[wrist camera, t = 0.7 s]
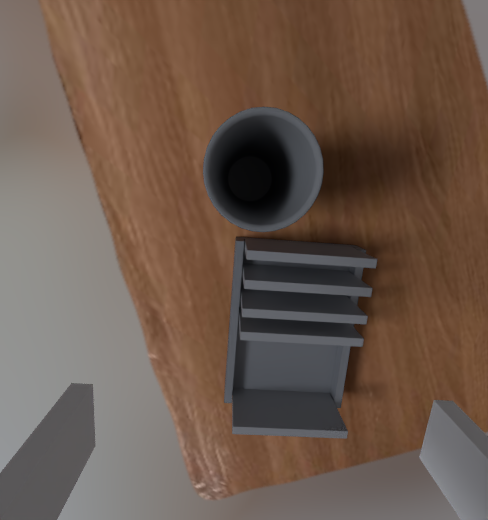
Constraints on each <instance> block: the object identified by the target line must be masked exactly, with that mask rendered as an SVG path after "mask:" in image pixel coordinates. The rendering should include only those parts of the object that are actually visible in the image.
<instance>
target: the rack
mask: <svg viewBox="0 0 488 520" xmlns="http://www.w3.org/2000/svg"><path fill="white" fill-rule="evenodd" d="M376 264H377V259H376V258H374V257H372V256H370V255H368V254H366V250H365V249H363V248H361V247H358V246H356V245H344V244H330V243H316V242H302V241H288V240H274V239H260V238H246V237H236V240H235V254H234V268H233V282H232V295H231V309H230V323H229V337H228V351H227V364H226V378H225V396H224V403H232V434H249V435H274V436H299V437H324V438H347V433H348V431H347V429H346V426H345V424H344V422H343V420H342V418H341V416H340V414H339V412H338V410H337V408H341V402H342V396H343V390H344V384H345V378H346V371H347V365H348V359H349V353H350V347H351V346H357V347H362V346H363V340H364V338H363V337H362V336H361V335H360V334H359V333H358V332H357V330H356V329H355V328H354V324H366V323H367V317H368V316H367V315H366V314H365V313H364V312H363V311H362V310H361V309H360V308H359V307H358V306H357V304H358V298H359V296H365V297H371V294H372V288H371V287H370V286H369V285H367V284H366V283H364V282H363V281H362V280H361V279H362V273H363V267H364V268H376Z"/></svg>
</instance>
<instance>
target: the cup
mask: <svg viewBox="0 0 488 520" xmlns="http://www.w3.org/2000/svg"><path fill="white" fill-rule="evenodd" d="M203 175H204V183H205V187H206V190H207V193H208V196H209V198H210V200H211V201H212V203H213V205H214V207H215V208H216V209H217V210H218V211H219V213H220V214H221V215H222V216H223V217H225V218H226V219H227V220H228V221H230V222H231V223H233V224H235V225H237V226H238V227H240V228H243V229H247V230H250V231H257V232H268V231H275V230H279V229H282V228H285V227H287V226H289V225H291V224H293V223H295V222H296V221H297V220H299V219H300V218H301V217H302V216H303V215H305V213H306V212H307V211H308V210H309V209H310V208H311V206H312V205H313V203H314V201H315V200H316V198H317V196H318V194H319V191H320V188H321V185H322V179H323V158H322V154H321V149H320V146H319V144H318V142H317V140H316V138H315V136H314V134H313V133H312V132H311V130H310V129H309V128H308V126H307V125H306V124H304V123H303V122H302V121H301V120H300V119H299V118H297V117H296V116H294V115H292V114H291V113H289V112H287V111H284V110H281V109H278V108H271V107H257V108H251V109H247V110H244V111H241V112H239V113H237V114H236V115H234V116H232V117H230V118H229V119H228V120H227V121H226V122H224V123H223V124H222V125H221V126H220V127H219V128H218V130H217V131H216V132H215V134H214V135H213V136H212V138H211V141H210V143H209V145H208V147H207V150H206V154H205V157H204V166H203Z"/></svg>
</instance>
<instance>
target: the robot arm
mask: <svg viewBox="0 0 488 520" xmlns="http://www.w3.org/2000/svg"><path fill="white" fill-rule="evenodd" d="M93 404H94V403H93V384H74V383H71V385H70V386H69V387H68V388H67V390H66V391H65V392H64V394H63V395H62V396H61V397H60V399H59V400H58V401H57V402H56V404H55V405H54V406H53V407H52V409H51V410H50V411H49V412H48V414H47V415H46V416H45V418H44V419H43V420H42V421H41V423H40V424H39V425H38V426H37V428H36V429H35V430H34V431H33V433H32V434H31V435H30V436H29V438H28V439H27V440H26V442H25V443H24V444H23V445H22V447H21V448H20V449H19V450H18V452H17V453H16V454H15V455H14V457H13V458H12V459H11V460H10V462H9V463H8V464H7V465H6V467H5V468H4V469H3V470H2V472H1V473H0V520H57V518H58V517H59V515H60V513H61V511H62V509H63V507H64V505H65V503H66V501H67V499H68V497H69V495H70V493H71V491H72V490H73V488H74V486H75V484H76V482H77V480H78V478H79V476H80V474H81V472H82V470H83V468H84V466H85V464H86V463H87V461H88V459H89V457H90V455H91V453H92V451H93V449H94V447H95V429H94V428H95V427H94V405H93ZM419 458H420V459H421V461H422V462H423V464H424V465H425V467H426V468H427V470H428V471H429V473H430V474H431V476H432V477H433V479H434V480H435V482H436V483H437V485H438V486H439V488H440V489H441V491H442V492H443V494H444V495H445V497H446V498H447V500H448V501H449V503H450V504H451V506H452V507H453V509H454V510H455V512H456V513H457V515H458V516H459V518H460V519H461V520H488V436H487V435H486V434H485V433H484V432H483V431H482V430H481V429H480V428H479V427H478V426H477V425H476V424H475V423H474V422H473V421H472V420H471V419H470V418H469V417H468V416H467V415H466V414H465V413H464V412H463V411H462V410H461V409H460V408H459V407H458V406H457V405H456V404H455V403H454V402H453V401H443V400H434V402H433V406H432V410H431V414H430V418H429V422H428V426H427V430H426V433H425V437H424V441H423V445H422V449H421V453H420V457H419Z"/></svg>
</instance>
